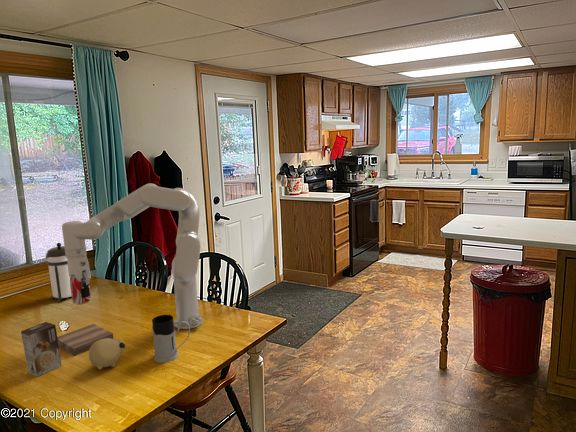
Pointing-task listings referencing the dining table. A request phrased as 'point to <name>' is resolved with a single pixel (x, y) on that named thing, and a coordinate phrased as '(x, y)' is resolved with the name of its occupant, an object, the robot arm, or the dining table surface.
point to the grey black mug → (165, 338)
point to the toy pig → (106, 352)
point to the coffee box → (41, 348)
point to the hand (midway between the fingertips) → (81, 294)
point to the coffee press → (58, 272)
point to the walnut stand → (82, 339)
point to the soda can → (78, 292)
